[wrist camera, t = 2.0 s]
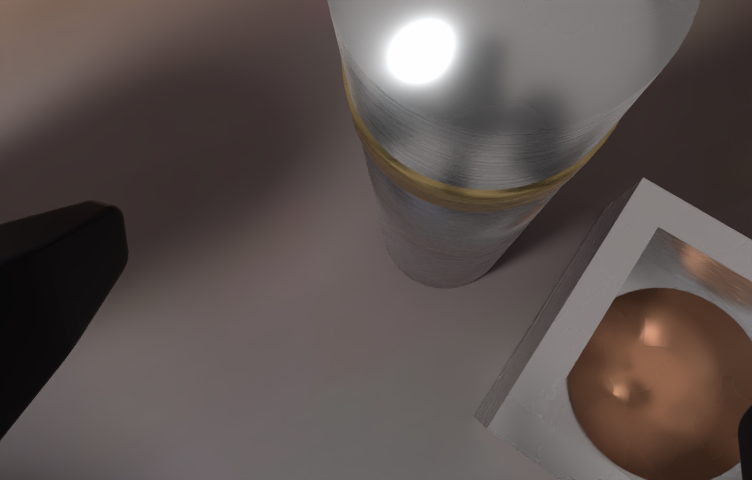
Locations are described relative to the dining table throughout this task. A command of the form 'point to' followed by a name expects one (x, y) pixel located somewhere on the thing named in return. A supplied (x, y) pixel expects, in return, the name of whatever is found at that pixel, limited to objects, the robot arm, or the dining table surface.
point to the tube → (488, 111)
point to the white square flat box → (637, 351)
